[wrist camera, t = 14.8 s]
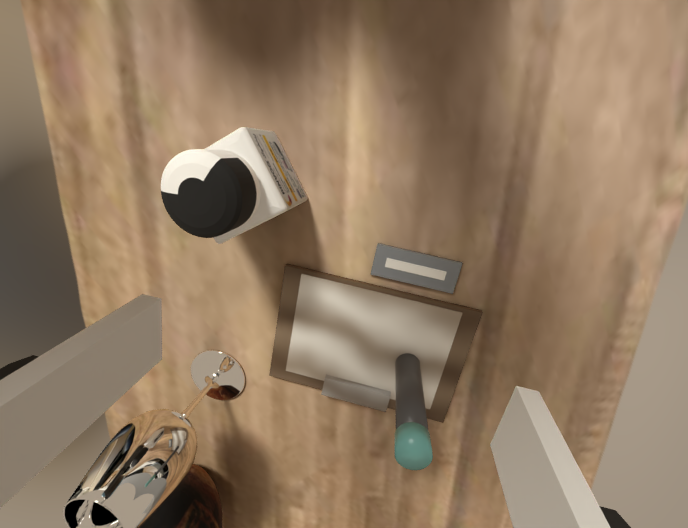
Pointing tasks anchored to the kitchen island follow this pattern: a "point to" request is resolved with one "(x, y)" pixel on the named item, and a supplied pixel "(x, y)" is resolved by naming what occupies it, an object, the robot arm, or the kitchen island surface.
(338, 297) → the clipboard
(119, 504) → the wineglass
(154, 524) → the ceramic vessel
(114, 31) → the kitchen island surface
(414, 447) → the marker
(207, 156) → the container
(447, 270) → the plate
